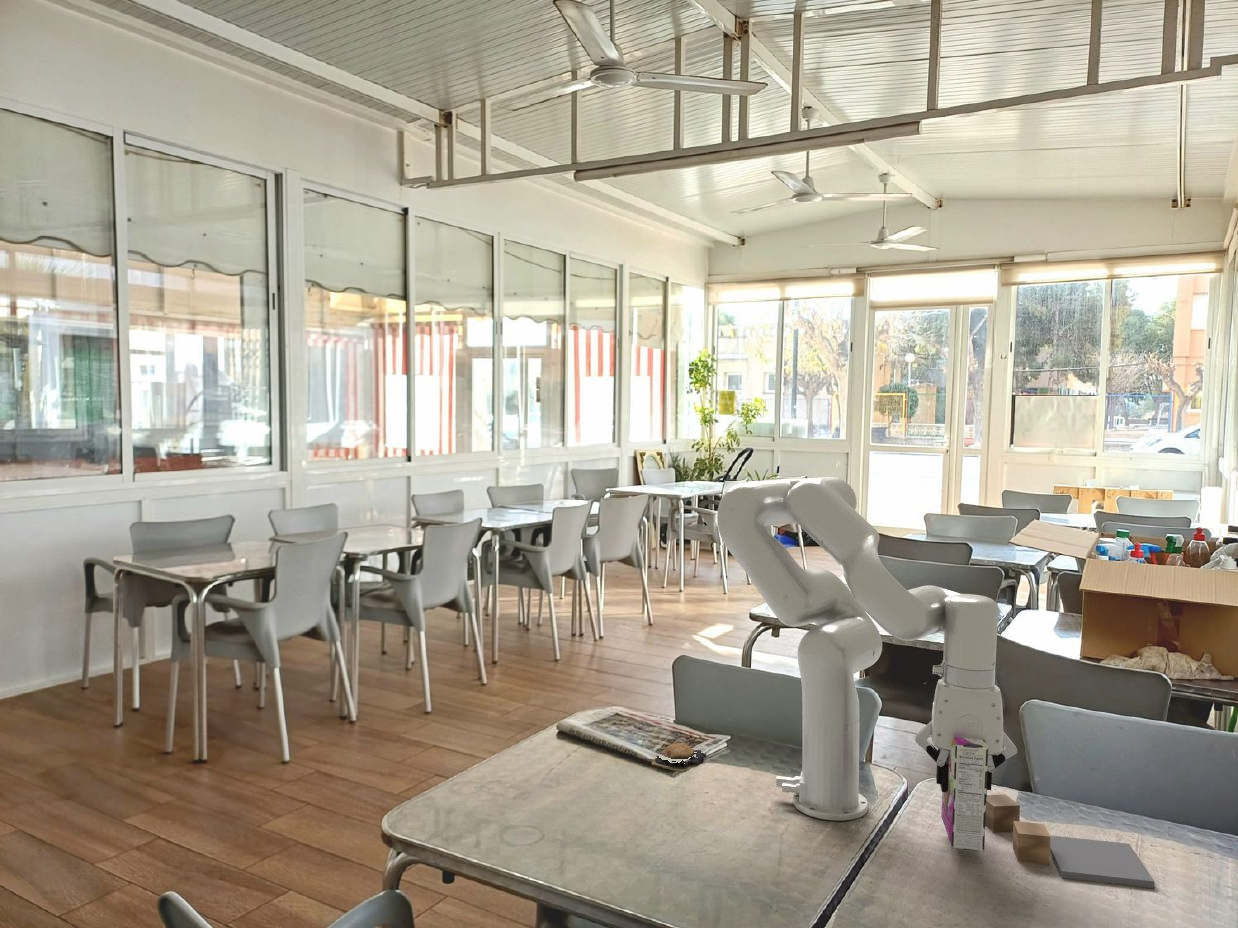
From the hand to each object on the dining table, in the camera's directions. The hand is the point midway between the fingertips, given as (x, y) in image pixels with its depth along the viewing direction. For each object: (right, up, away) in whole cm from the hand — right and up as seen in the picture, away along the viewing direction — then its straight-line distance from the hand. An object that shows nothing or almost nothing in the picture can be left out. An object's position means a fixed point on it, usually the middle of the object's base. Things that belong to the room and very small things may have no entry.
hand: (963, 789), depth 138 cm
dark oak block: (+9, -9, +8) cm, 15 cm away
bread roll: (-41, -9, +37) cm, 56 cm away
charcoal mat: (+18, -9, -5) cm, 21 cm away
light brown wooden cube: (+9, -9, -3) cm, 13 cm away
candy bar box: (0, -7, 0) cm, 7 cm away
